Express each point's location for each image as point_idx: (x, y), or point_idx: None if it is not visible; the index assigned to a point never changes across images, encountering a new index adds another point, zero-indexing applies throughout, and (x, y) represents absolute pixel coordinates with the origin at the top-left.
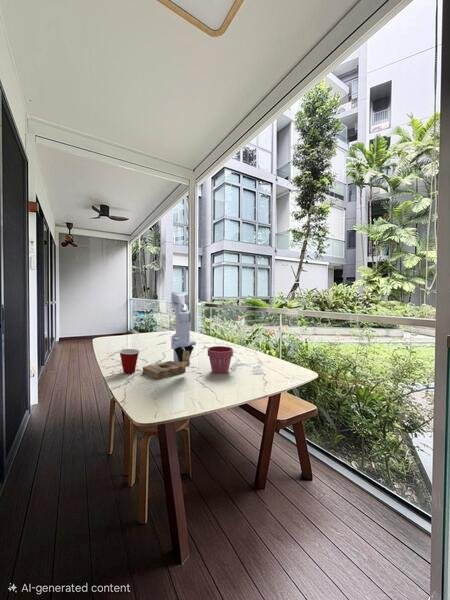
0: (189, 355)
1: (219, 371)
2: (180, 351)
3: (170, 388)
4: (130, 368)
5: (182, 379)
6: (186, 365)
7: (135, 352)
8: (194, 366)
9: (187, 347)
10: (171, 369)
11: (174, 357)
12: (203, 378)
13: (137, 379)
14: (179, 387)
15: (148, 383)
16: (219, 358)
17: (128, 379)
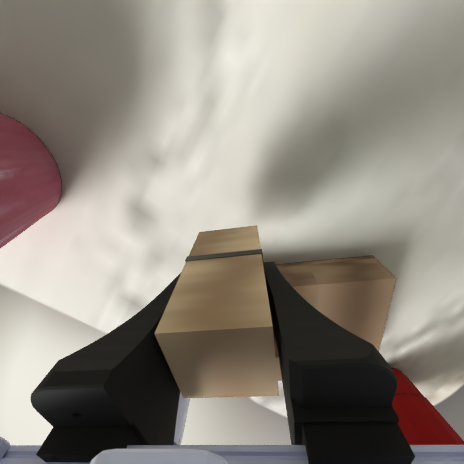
0: (169, 294)
1: (7, 121)
2: (355, 337)
3: (442, 61)
4: (408, 389)
5: (274, 177)
6: (225, 234)
7: None
8: (124, 309)
9: (147, 420)
10: (290, 284)
11: (188, 399)
12: (156, 109)
13: (429, 303)
14: (388, 35)
15: (445, 229)
16: None
17: (452, 321)
